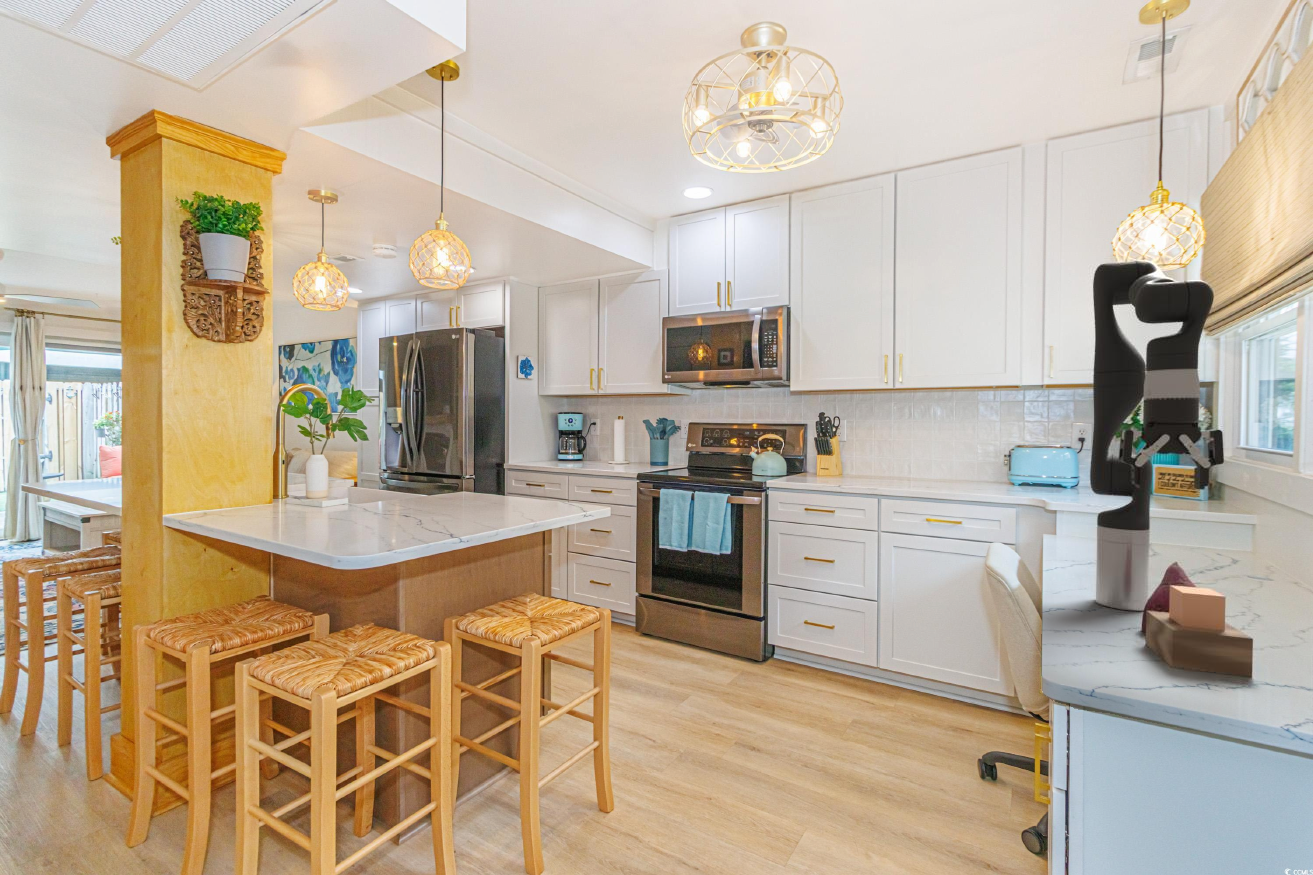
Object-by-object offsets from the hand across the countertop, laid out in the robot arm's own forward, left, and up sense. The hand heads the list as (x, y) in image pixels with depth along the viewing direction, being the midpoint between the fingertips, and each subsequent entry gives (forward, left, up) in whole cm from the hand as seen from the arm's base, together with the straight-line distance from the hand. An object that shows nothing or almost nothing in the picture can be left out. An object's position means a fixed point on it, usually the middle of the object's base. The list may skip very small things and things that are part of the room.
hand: (1168, 488), depth 109 cm
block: (+6, +2, -22) cm, 23 cm away
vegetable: (-8, +4, -28) cm, 30 cm away
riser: (+6, +2, -28) cm, 29 cm away
